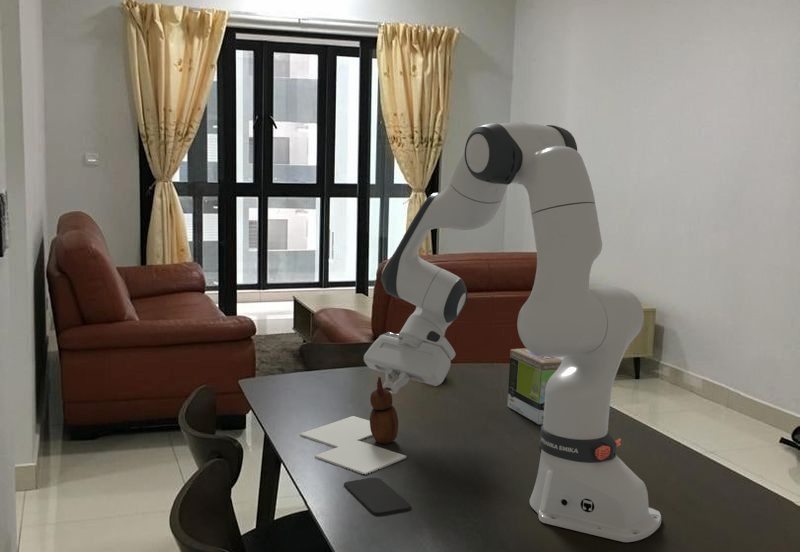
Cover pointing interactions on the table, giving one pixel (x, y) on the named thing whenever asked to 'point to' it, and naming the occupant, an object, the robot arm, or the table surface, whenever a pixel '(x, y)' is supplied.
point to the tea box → (530, 382)
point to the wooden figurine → (383, 415)
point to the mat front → (341, 432)
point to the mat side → (360, 457)
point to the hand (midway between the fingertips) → (388, 391)
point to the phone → (377, 496)
